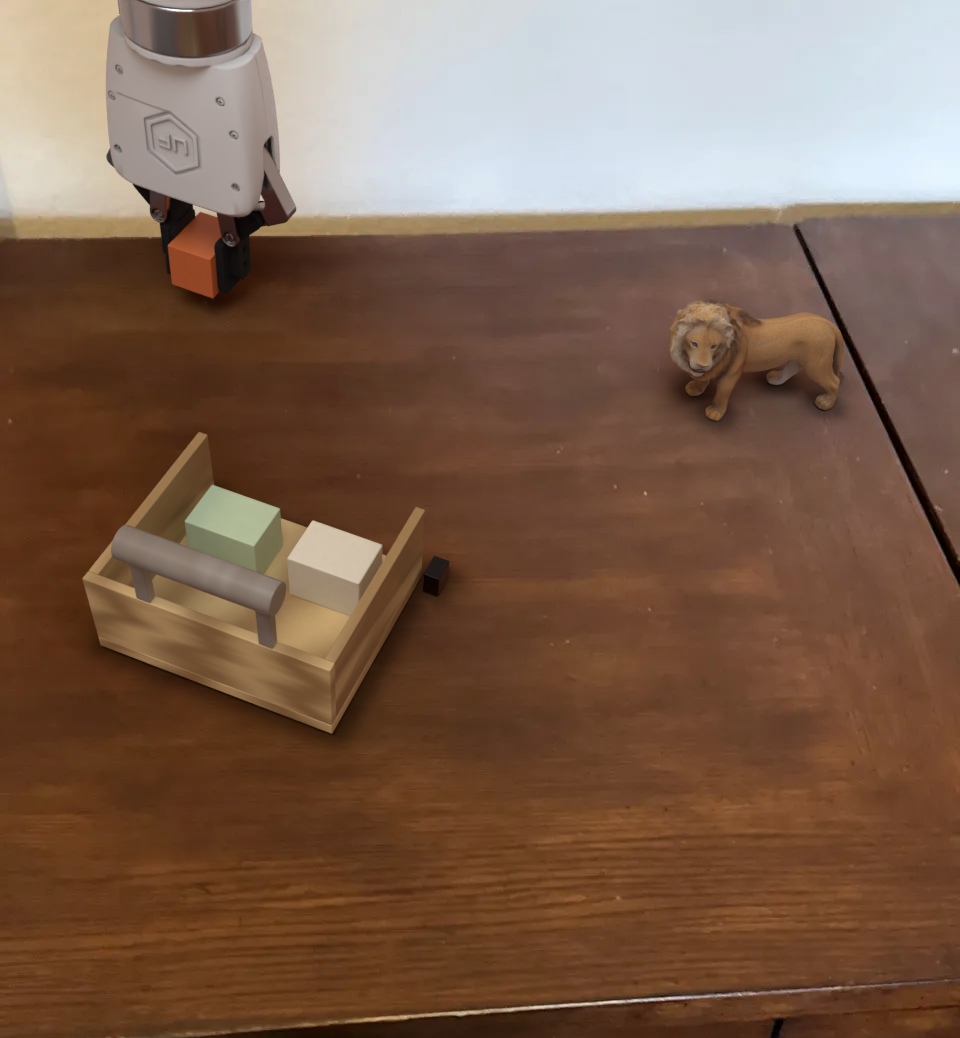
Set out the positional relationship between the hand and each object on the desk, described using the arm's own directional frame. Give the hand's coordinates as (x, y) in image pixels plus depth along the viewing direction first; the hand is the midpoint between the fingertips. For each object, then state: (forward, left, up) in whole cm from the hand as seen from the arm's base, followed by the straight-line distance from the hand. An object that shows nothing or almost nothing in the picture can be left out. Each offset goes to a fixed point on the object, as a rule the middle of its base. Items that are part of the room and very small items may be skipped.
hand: (208, 271), depth 87 cm
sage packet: (+13, -21, -1) cm, 25 cm away
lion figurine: (+38, +6, -2) cm, 38 cm away
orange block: (0, 0, 0) cm, 0 cm away
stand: (+17, -18, -2) cm, 24 cm away
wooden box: (+17, -24, -2) cm, 29 cm away
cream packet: (+20, -21, -1) cm, 29 cm away
